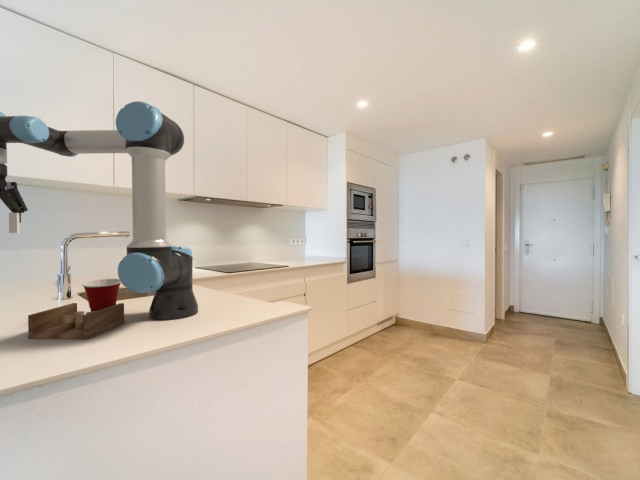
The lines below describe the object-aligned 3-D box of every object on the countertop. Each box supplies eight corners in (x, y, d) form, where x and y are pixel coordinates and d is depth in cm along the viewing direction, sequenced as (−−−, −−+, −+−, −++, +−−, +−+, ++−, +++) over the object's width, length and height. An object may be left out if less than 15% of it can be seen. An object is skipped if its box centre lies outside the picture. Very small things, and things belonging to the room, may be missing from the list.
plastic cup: (76, 323, 93) (76, 284, 93) (89, 314, 103) (88, 279, 103) (118, 319, 97) (117, 282, 97) (126, 311, 107) (125, 277, 107)
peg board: (124, 323, 93) (124, 303, 92) (88, 339, 79) (87, 315, 78) (73, 322, 93) (73, 303, 93) (28, 338, 79) (28, 315, 79)
